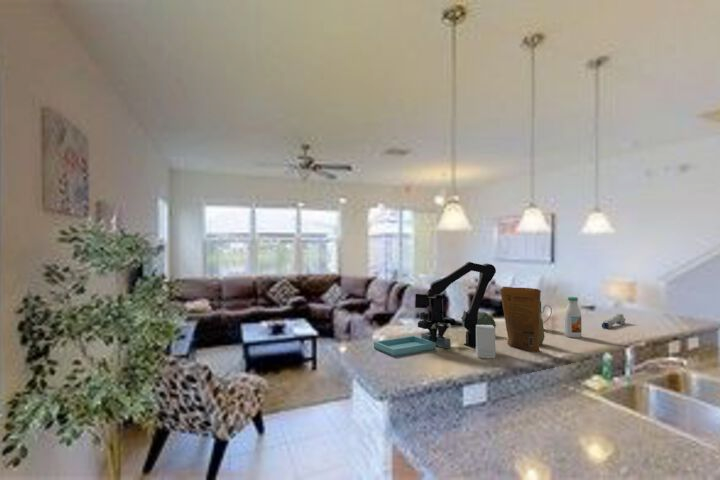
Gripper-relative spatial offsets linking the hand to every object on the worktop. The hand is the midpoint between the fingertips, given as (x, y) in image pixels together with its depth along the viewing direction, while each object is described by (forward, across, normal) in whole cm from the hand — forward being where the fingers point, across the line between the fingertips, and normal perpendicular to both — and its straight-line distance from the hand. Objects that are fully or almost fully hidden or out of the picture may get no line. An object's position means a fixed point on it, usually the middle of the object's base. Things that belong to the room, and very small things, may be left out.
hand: (436, 341), depth 198 cm
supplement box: (+2, -6, +24) cm, 25 cm away
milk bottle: (+2, -70, +22) cm, 74 cm away
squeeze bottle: (+2, -41, +22) cm, 47 cm away
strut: (+1, 0, 0) cm, 1 cm away
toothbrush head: (+2, -114, +19) cm, 115 cm away
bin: (+2, +17, -2) cm, 17 cm away
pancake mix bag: (+2, -29, +24) cm, 38 cm away
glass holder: (+2, -70, +2) cm, 70 cm away
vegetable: (+2, -36, -6) cm, 36 cm away
